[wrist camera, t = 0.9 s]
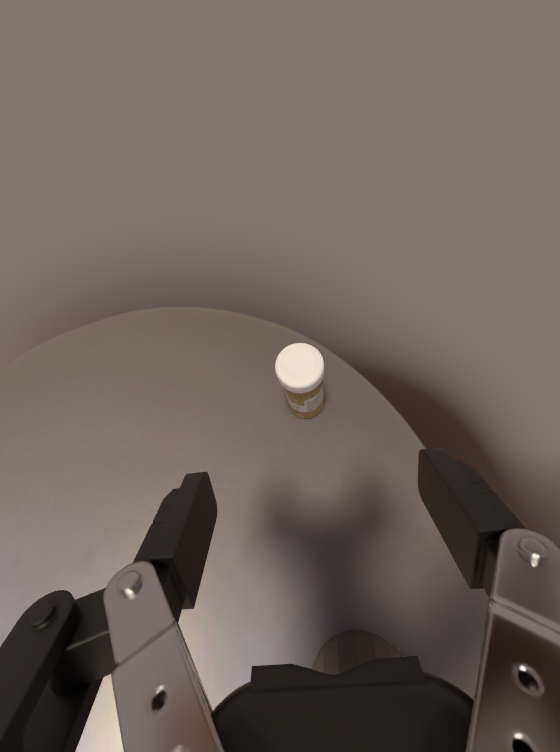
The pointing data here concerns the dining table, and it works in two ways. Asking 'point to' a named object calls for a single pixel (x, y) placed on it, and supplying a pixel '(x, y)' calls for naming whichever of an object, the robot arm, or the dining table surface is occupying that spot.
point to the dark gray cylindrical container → (352, 652)
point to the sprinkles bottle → (301, 378)
